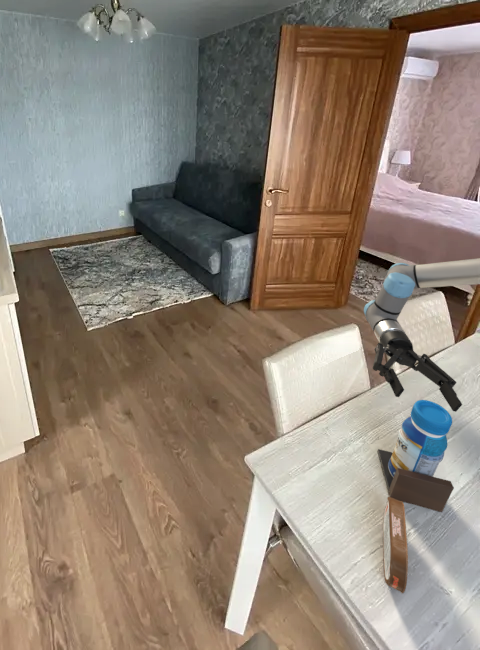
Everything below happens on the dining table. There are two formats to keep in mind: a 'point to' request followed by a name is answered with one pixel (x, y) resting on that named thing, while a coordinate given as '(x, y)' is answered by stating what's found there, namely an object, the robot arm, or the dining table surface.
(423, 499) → the dock
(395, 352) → the robot arm
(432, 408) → the blue capped bottle
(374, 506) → the dining table surface
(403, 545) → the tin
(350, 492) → the dining table surface
